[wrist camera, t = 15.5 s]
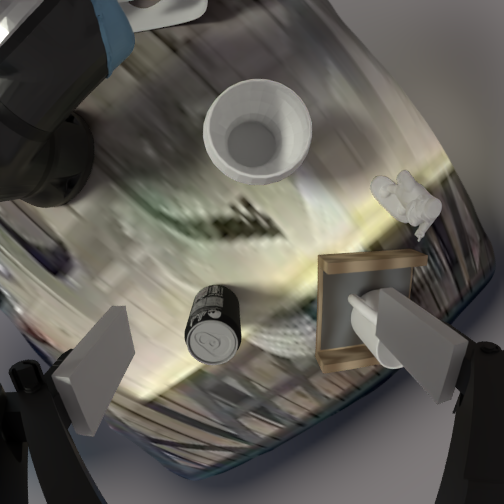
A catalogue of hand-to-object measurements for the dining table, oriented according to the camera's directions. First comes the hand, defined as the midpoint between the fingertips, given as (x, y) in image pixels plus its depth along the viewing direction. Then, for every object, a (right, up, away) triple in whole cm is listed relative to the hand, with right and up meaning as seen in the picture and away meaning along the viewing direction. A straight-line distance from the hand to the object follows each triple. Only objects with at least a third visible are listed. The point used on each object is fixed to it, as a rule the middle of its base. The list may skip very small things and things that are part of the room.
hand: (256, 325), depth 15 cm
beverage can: (-5, -4, +30) cm, 31 cm away
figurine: (+21, +11, +29) cm, 37 cm away
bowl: (-17, +46, +19) cm, 53 cm away
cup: (0, +18, +26) cm, 31 cm away
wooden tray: (+18, -5, +32) cm, 36 cm away
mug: (+17, -5, +30) cm, 35 cm away
